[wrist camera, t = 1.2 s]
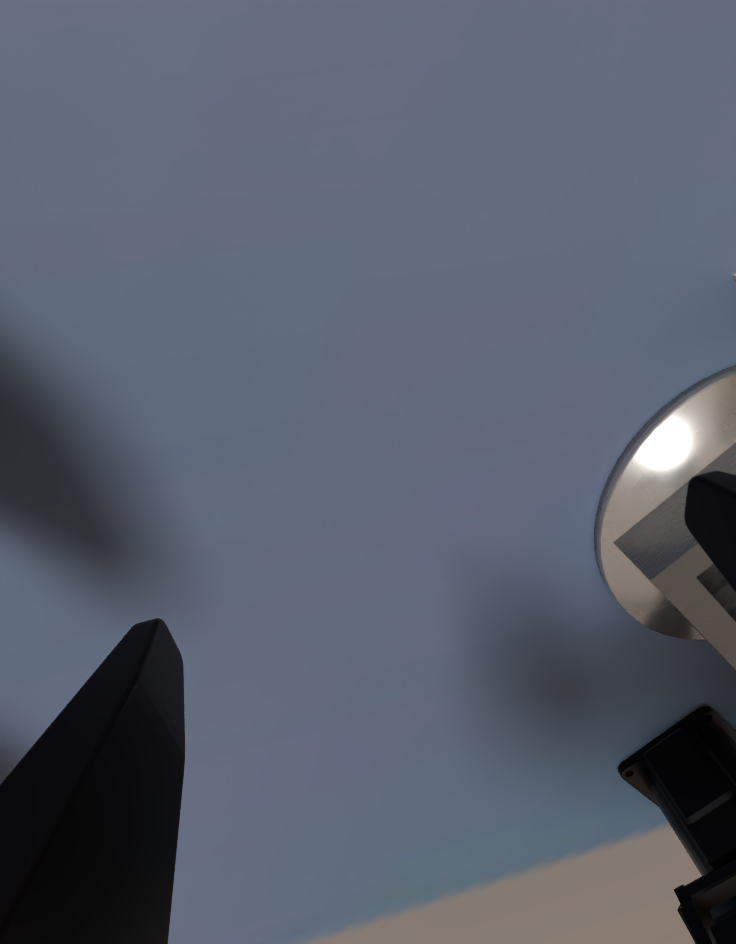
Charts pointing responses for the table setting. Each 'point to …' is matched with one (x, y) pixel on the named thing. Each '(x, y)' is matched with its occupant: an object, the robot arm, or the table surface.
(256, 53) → the table surface
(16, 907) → the robot arm
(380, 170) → the table surface
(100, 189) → the table surface
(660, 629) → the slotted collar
